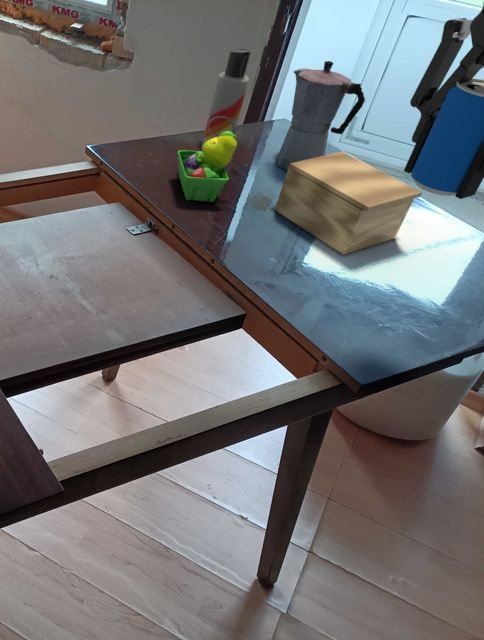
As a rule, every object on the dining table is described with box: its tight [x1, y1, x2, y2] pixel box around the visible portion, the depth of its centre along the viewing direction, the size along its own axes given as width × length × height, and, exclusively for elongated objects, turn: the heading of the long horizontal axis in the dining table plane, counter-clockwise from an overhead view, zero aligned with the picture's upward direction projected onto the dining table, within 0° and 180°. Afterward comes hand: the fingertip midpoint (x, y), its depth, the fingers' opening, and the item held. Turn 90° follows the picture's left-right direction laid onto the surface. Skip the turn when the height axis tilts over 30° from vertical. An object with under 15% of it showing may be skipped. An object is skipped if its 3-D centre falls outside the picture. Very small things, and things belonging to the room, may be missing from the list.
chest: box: [274, 168, 415, 255], centre depth 116 cm, size 16×13×9 cm
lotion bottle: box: [200, 48, 252, 152], centre depth 133 cm, size 6×6×20 cm
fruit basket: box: [177, 131, 238, 203], centre depth 123 cm, size 11×9×11 cm
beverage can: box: [410, 78, 484, 197], centre depth 80 cm, size 6×6×12 cm
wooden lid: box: [289, 151, 423, 212], centre depth 112 cm, size 16×13×1 cm
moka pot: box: [275, 60, 366, 171], centre depth 130 cm, size 10×15×20 cm, turn 40°
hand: (438, 182), depth 84 cm, fingers closed on beverage can, 6 cm apart
